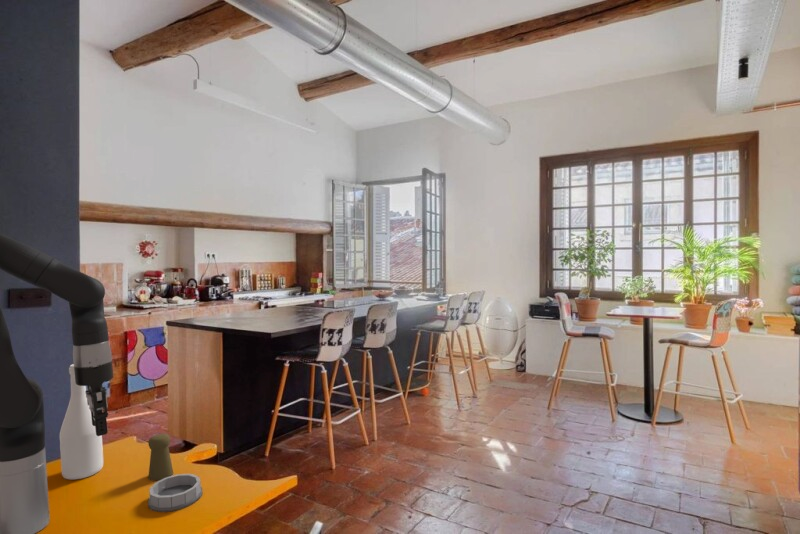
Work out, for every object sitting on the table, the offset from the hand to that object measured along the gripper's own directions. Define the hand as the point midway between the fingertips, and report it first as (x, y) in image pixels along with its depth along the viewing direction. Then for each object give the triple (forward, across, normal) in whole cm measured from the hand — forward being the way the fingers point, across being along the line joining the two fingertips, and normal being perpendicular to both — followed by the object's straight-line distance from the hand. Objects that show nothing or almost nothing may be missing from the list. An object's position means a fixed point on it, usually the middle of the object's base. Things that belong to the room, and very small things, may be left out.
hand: (99, 429), depth 112 cm
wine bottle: (+18, -25, -3) cm, 31 cm away
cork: (+19, -9, +13) cm, 25 cm away
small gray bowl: (+19, +6, +14) cm, 25 cm away
